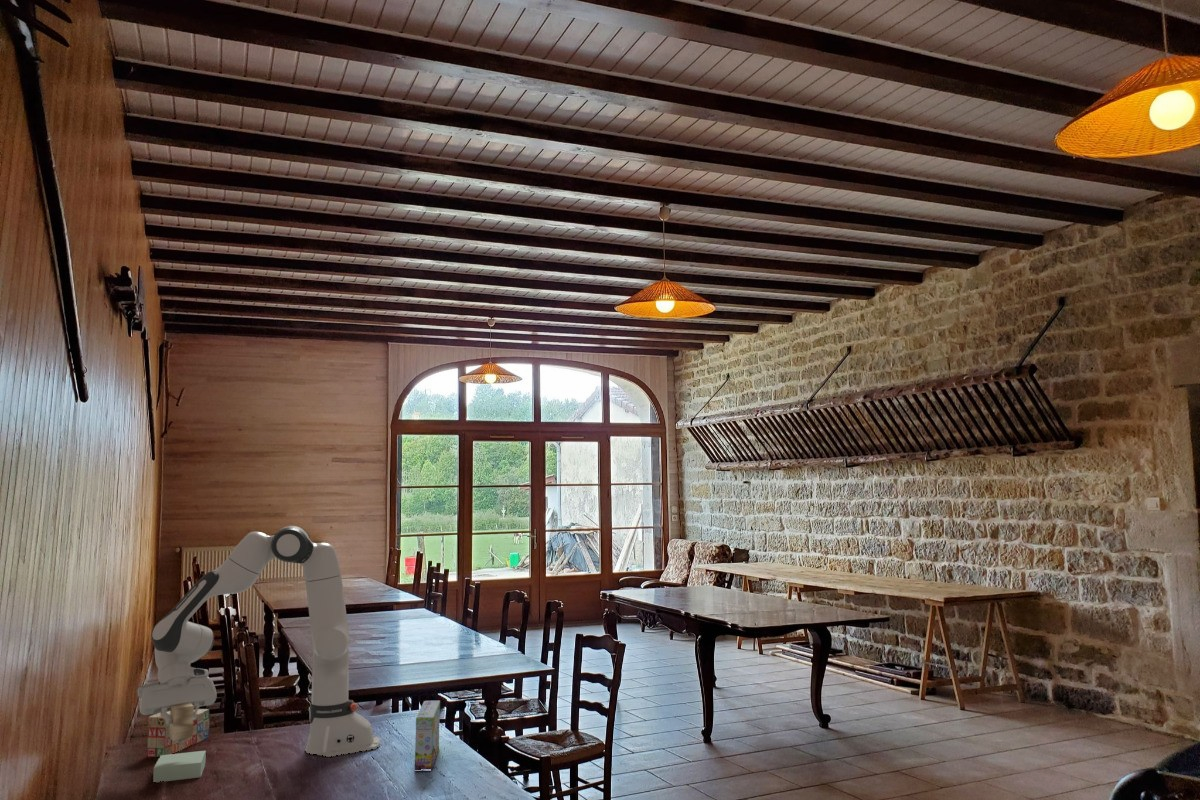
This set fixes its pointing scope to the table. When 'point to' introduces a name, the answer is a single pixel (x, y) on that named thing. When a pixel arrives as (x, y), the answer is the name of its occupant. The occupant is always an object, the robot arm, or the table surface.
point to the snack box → (427, 735)
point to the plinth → (179, 766)
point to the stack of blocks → (160, 734)
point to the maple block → (181, 722)
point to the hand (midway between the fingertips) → (182, 720)
